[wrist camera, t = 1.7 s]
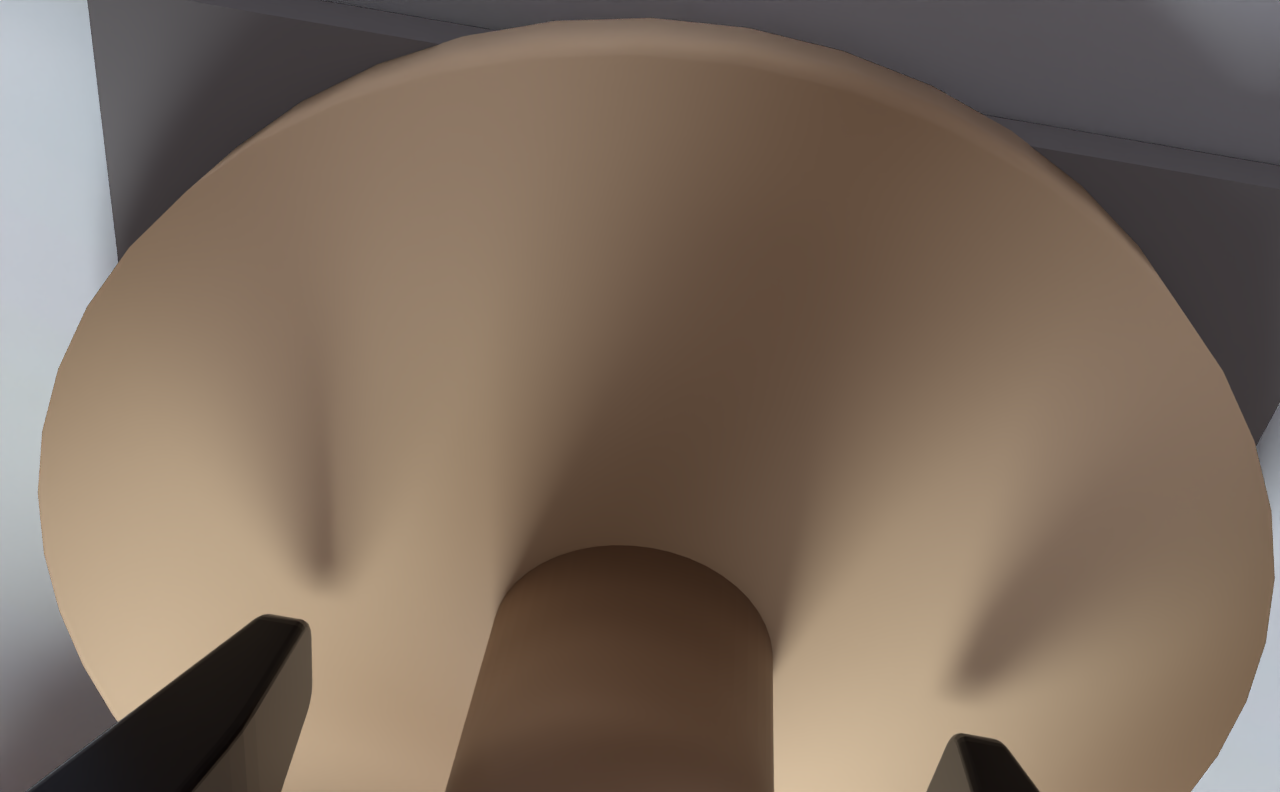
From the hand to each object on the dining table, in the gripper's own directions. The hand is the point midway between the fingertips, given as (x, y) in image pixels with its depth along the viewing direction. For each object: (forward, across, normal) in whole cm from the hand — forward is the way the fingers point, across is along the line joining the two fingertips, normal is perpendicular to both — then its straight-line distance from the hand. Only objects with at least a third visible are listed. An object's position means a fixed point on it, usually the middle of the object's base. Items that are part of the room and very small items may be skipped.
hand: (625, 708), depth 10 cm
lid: (+2, 0, 0) cm, 2 cm away
